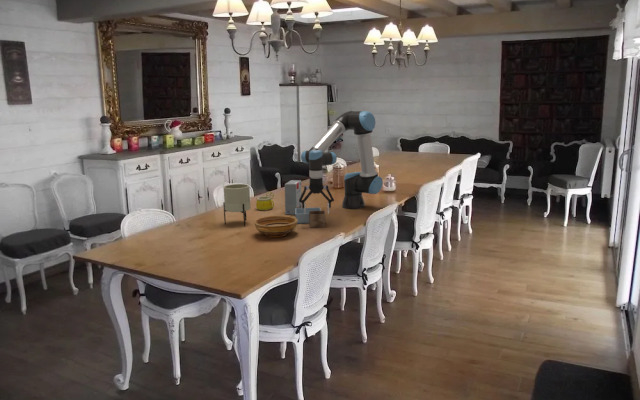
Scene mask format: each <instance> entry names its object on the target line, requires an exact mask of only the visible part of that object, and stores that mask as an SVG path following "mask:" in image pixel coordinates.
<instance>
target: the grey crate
mask: <svg viewBox="0 0 640 400" xmlns="http://www.w3.org/2000/svg"><path fill="white" fill-rule="evenodd" d="M309 211H322V209H321V207H306V214H304V208H295V215H294V216H295V218H297V219H298V221H297V225H302V224H303V225H304V224H306V225H307V224H310V222H309Z"/></svg>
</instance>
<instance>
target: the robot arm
mask: <svg viewBox="0 0 640 400" xmlns="http://www.w3.org/2000/svg"><path fill="white" fill-rule="evenodd" d="M375 127H376V118H375V116H374V114H373V113H372V112H371V111H365V110H349V111H348V110H347V111H346V112H343V113H341V115H339V116H337V118H335V120H334V121H333V122H332V125H331V126H330V127H329V128H328V129H327V131H325V133H324V134H323V135H321V137H320V138H319V139H318V140H317V141H316V142H315V143H314V144H313V146H311V148H310V149H309V150H304V151H302V152H301V155H300V159H301V161H302V163H304V164H307V165H308V167H309V170H308V171H309V185H304V187H303V191H302V195H301V197H300V199H299V202H301V203H302V208H304V214H306V208H307V207H306V201H307V200H308V199H309V198H310V196H311V195H312V194H318V195H319V194H321V195H322V197H324V198H325V200H326V201H327V202H326V203H327V207H326V208H327V214H330V208H331V207H332V202H334V201H335V200H334V197H333V195H332V193H331V192H330V189H329V185H327V184H326V185H323V183H324V182H323V179H324V178H323V173H324V171H323V167H325V166H332V165H334V164H336V162H337V160H338V158H337V154H336V153H335V152H333V151H328V152H327V150H328V149H329V148H330V146H332V144H333V143H334V142H335V141H336V140H337V139H338V138H339V136H341V135H342V134H344V133H346V132H347V131H349V130H351V131H352V130H353V134H354V135H355V136H356V141H357V147H358V154H359V161H360V162H359V163H360V168H361V171H353V172H347V173H345V175H344V179H343V180H344V181H343V182H344V196H343V200H342V205H341V207H342V208H344V209H350V210H355V209H356V210H357V209H362V208H365V207H366V203H365V199H364V198H363V197H364V196H363V194H369V195H376V194H378V193H380V192H381V189H382V187H383V184H384V183H383V178H382V177H381V176H379V173H378V171H377V170H376V168H375V162H374V154H373V153H374V152H373V145H372V143H373V142H372V138H371V137H372V136H371V135H372V133H373V131H374V129H375ZM308 189H309V192H308V193H307V195H306V196H305V194H306V191H307V190H308ZM323 190H326V192H327V194H328V195H327V194H326V193H325V192H324V191H323ZM304 196H305V197H304ZM328 196H329V197H328Z"/></svg>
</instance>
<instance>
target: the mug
mask: <svg viewBox="0 0 640 400" xmlns="http://www.w3.org/2000/svg"><path fill="white" fill-rule="evenodd" d="M274 197H275V195H274V193H273V192H272V191H268V192H267V193H266V195H265V196H264V195H263V196H258V197H257V198H256V202H255V203H256V204H255V206H256V209H257V210H258V211H268V210H271V209H273V208H275V202H274V200H273V198H274Z"/></svg>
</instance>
